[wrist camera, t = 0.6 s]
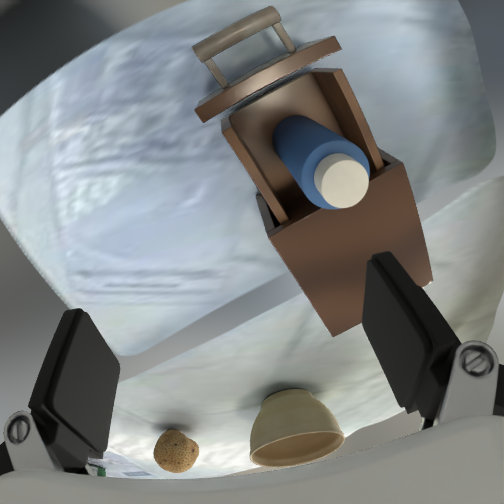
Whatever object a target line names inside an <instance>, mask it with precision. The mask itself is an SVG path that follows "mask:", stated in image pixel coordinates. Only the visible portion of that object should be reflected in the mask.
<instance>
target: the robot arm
mask: <svg viewBox="0 0 504 504" xmlns="http://www.w3.org/2000/svg"><path fill="white" fill-rule="evenodd" d="M362 325H363V328H364V331H365V333H366V335H367V337H368V339H369V341H370V343H371V345H372V347H373V349H374V352H375V354H376V356H377V358H378V360H379V362H380V364H381V367H382V369H383V371H384V373H385V375H386V378H387V380H388V382H389V384H390V386H391V389H392V391H393V393H394V395H395V398H396V400H397V402H398V404H399V406H400V407H401V408H402V407H405V409H406V411H407V413H408V414H409V413H412V412H414V411H417V410H419V412H420V414H421V417H423V420H422V422H421V425H420V428H419V431H418V432H416V433H413V434H410V435H408V436H405V437H402V438H399V439H396V440H393V441H390V442H387V443H384V444H381V445H378V446H375V447H371V448H368V449H365V450H361V451H358V452H355V453H351V454H348V455H344V456H340V457H336V458H332V459H328V460H324V461H320V462H315V463H311V464H306V465H301V466H297V467H291V468H286V469H280V470H274V471H267V472H261V473H253V474H246V475H237V476H227V477H215V478H199V479H128V478H113V477H102V476H96V475H95V474H94V472H93V471H92V469H91V468H90V466H89V464H88V463H87V460H88V457H89V458H96V459H103V452H104V451H106V449H107V445H108V438H109V431H110V424H111V418H112V412H113V406H114V400H115V395H116V389H117V384H118V379H119V374H120V364H119V362H118V360H117V358H116V357H115V355H114V354H113V352H112V351H111V349H110V348H109V346H108V345H107V343H106V342H105V340H104V339H103V337H102V335H101V334H100V332H99V331H98V329H97V327H96V326H95V324H94V323H93V321H92V319H91V318H90V316H89V314H88V313H87V312H84V311H83V310H82V309H81V308H77V309H71V310H66V311H65V312H64V314H63V316H62V318H61V320H60V323H59V325H58V327H57V330H56V332H55V334H54V337H53V339H52V341H51V344H50V346H49V349H48V351H47V354H46V357H45V359H44V362H43V364H42V367H41V370H40V372H39V375H38V378H37V380H36V383H35V386H34V389H33V392H32V395H31V398H30V401H29V405H28V407H29V408H30V409H31V413H28V412H27V411H18V412H16V413H14V414H13V415H12V416H10V417H9V419H8V420H7V422H6V424H5V427H4V433H3V434H4V439H5V441H4V442H3V443H2V444H1V445H0V504H504V365H501V364H499V362H498V357H497V355H496V353H495V351H494V350H493V349H492V348H491V347H490V346H489V345H487V344H486V343H484V342H481V341H476V340H471V341H466V342H465V343H463V344H462V343H461V342H460V340H459V339H458V337H457V336H456V335H455V333H454V332H453V330H452V329H451V327H450V326H449V324H448V323H447V321H446V320H445V319H444V317H443V316H442V314H441V313H440V312H439V310H438V309H437V307H436V306H435V305H434V303H433V302H432V301H431V299H430V298H429V297H428V295H427V294H426V292H425V291H424V290H423V289H422V288H421V287H420V286H418V285H416V283H415V282H414V281H413V279H412V278H411V277H410V276H409V274H408V273H407V272H406V270H405V269H404V268H403V267H402V265H401V264H400V263H399V261H398V260H397V259H396V258H395V256H394V255H393V254H392V253H391V252H390V251H386V252H381V253H376V254H373V255H372V257H371V259H370V260H368V261H367V267H366V281H365V292H364V303H363V313H362Z"/></svg>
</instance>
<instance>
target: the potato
mask: <svg viewBox="0 0 504 504" xmlns="http://www.w3.org/2000/svg"><path fill="white" fill-rule="evenodd" d="M198 455H199V447H198V445H197V443H196V442H195V441H193V440H191V439H189V438H188V437H186V436H185V435H184V434H183V433H181V432H180V431H178V430H176V429H170V430H167V431H166V432H164V433H163V434H162V435H161V436H160V438H159V439H158V441H157V443H156V446H155V448H154V458H155V461H156V462H157V464H159V466H160V467H161V468H163V469H164V470H166V471H169V472H173V473H181V472H184V471H187V470H188V469H190V468H191V467H192V465H193V464H194V462H195V461H196V459H197V457H198Z"/></svg>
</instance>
